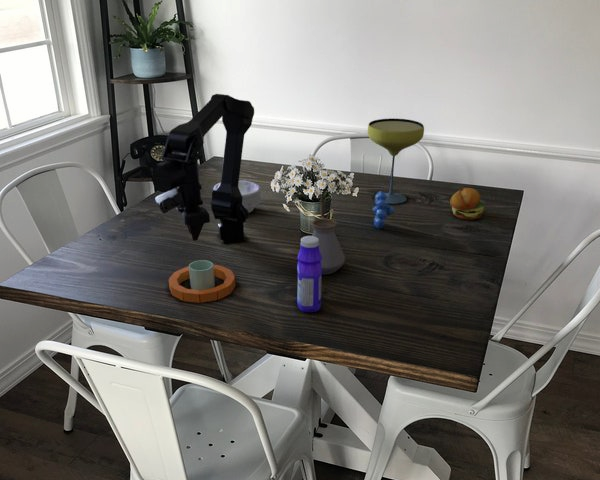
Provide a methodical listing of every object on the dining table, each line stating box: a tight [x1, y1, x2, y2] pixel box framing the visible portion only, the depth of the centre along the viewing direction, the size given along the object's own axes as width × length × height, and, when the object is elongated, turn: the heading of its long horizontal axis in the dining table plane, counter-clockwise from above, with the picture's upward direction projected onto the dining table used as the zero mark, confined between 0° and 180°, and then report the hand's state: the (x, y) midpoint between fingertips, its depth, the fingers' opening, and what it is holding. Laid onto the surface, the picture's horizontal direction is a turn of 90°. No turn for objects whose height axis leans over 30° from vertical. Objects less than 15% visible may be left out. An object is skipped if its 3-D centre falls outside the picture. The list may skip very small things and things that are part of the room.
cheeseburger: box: [448, 187, 485, 221], centre depth 197 cm, size 10×11×10 cm
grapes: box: [371, 190, 395, 230], centre depth 187 cm, size 12×7×12 cm, turn 176°
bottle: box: [296, 235, 323, 313], centre depth 144 cm, size 7×6×17 cm
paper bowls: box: [212, 179, 262, 214], centre depth 201 cm, size 15×15×8 cm
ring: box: [168, 264, 236, 303], centre depth 156 cm, size 16×16×2 cm
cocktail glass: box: [367, 118, 425, 205], centre depth 206 cm, size 18×18×25 cm
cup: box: [188, 259, 216, 290], centre depth 155 cm, size 6×6×6 cm
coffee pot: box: [311, 194, 346, 275], centre depth 167 cm, size 21×12×15 cm, turn 0°
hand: (193, 236), depth 165 cm, fingers open, 4 cm apart
